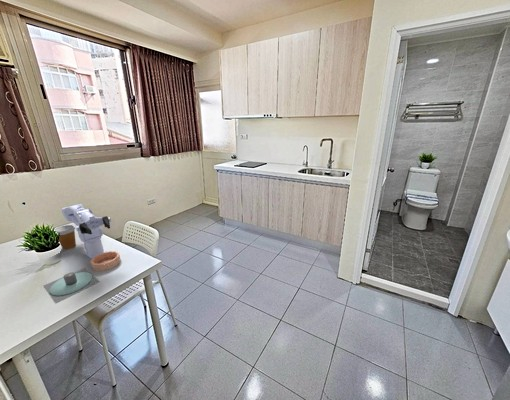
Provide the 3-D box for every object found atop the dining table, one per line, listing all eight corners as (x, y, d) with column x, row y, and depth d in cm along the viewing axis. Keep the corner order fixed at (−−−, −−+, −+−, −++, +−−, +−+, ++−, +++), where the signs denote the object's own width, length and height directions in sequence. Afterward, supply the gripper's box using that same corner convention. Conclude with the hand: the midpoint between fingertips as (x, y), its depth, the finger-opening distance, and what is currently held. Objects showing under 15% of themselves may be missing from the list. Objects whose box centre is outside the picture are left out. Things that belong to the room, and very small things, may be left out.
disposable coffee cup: (55, 248, 130) (49, 229, 127) (73, 241, 139) (68, 223, 135) (64, 252, 127) (58, 233, 123) (82, 244, 135) (78, 226, 131)
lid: (45, 286, 99) (42, 277, 98) (85, 269, 111) (82, 261, 109) (56, 301, 91) (52, 291, 90) (97, 281, 102) (95, 272, 101)
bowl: (89, 265, 114) (87, 259, 113) (114, 255, 123) (112, 248, 122) (98, 274, 108) (96, 267, 106) (124, 262, 117) (123, 256, 115)
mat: (43, 286, 100) (43, 285, 100) (85, 268, 112) (85, 267, 112) (56, 304, 90) (55, 303, 90) (100, 282, 102) (100, 281, 102)
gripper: (70, 218, 108) (79, 227, 100) (104, 209, 118) (115, 217, 110) (74, 231, 110) (83, 240, 102) (107, 221, 121) (117, 229, 113)
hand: (100, 229), depth 106 cm, fingers open, 7 cm apart
